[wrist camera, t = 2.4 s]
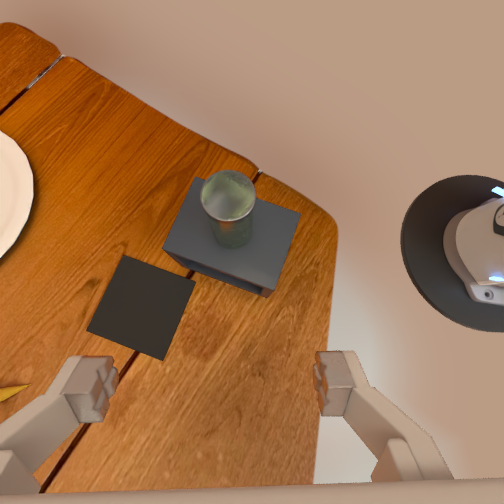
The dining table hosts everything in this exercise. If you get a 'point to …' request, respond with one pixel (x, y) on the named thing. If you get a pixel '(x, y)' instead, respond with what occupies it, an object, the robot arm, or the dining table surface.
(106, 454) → the dining table surface
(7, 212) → the plate
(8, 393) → the ice cream cone
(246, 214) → the tin
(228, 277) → the shelf
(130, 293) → the mat
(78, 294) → the dining table surface
